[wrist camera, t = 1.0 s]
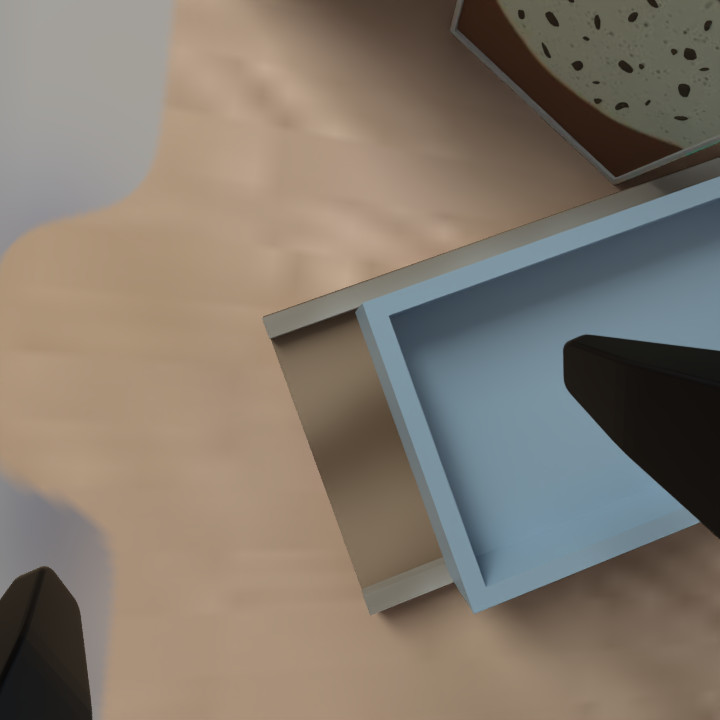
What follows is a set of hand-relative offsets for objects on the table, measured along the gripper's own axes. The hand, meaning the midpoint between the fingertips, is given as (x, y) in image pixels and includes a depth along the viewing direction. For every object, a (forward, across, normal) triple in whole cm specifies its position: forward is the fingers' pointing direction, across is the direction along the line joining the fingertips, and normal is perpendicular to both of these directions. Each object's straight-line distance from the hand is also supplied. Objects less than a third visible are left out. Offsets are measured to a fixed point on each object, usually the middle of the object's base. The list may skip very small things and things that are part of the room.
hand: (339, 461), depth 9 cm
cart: (+8, -12, +7) cm, 16 cm away
